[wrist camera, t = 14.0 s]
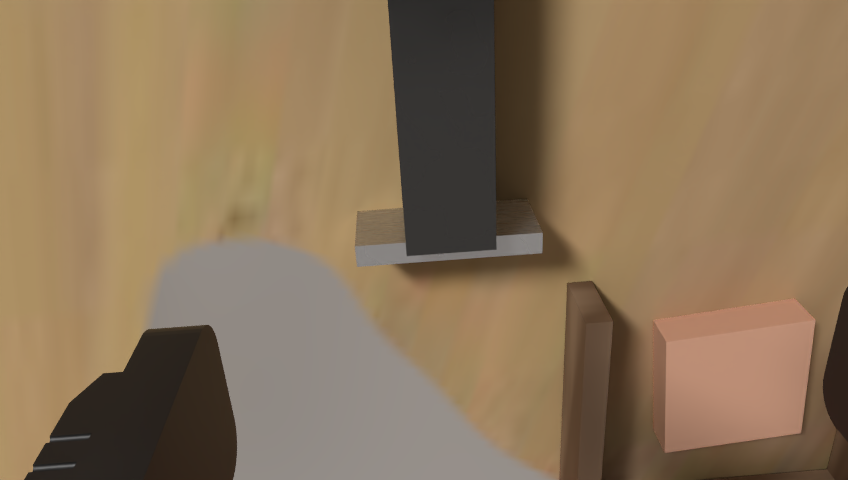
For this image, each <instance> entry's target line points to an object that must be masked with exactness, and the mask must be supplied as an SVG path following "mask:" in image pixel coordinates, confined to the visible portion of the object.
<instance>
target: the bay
mask: <svg viewBox="0 0 848 480" xmlns="http://www.w3.org/2000/svg"><path fill="white" fill-rule="evenodd" d="M612 331H613V320H612V318H611V317H610V315H609V313H608V311H607V309H606V307H605V305H604V303H603V301H602V299H601V298H600V296H599V294H598V292H597V290H596V288H595V286H594V284H593V282H592V281H587V282H574V283H567V305H566V330H565V355H564V380H563V405H562V430H561V455H560V479H559V480H601V478H602V464H603V451H604V438H605V424H606V411H607V398H608V384H609V371H610V358H611V344H612ZM704 480H848V442H847V441H846V439H845V438H844V437H843V436H842V434H841V433H840V432H839V431H838V430H837V432H836V436H835V440H834V444H833V448H832V452H831V455H830V459H829V463H828V467H827V469H823V470H811V471H799V472H787V473H776V474H764V475H752V476H740V477H728V478H716V479H704Z"/></svg>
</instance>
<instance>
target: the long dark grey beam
mask: <svg viewBox="0 0 848 480" xmlns="http://www.w3.org/2000/svg"><path fill="white" fill-rule="evenodd" d="M388 9H389V23H390V37H391V50H392V64H393V77H394V91H395V105H396V118H397V132H398V145H399V159H400V173H401V186H402V200H403V208H396V209H382V210H369V211H357V223H356V238H355V252H356V261H357V267H360V266H374V265H388V264H401V263H415V262H428V261H442V260H456V259H469V258H483V257H497V256H510V255H524V254H537V253H542V246H543V232H542V230H541V228H540V225H539V223H538V221H537V219H536V217H535V214H534V212H533V210H532V208H531V206H530V203H529V201H528V199H519V200H505V201H496V149H495V55H494V0H388Z"/></svg>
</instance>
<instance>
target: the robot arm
mask: <svg viewBox="0 0 848 480" xmlns="http://www.w3.org/2000/svg"><path fill="white" fill-rule="evenodd" d="M823 395H824V401H825V405H826V408H827V411H828V414H829V416H830V419H831V420H832V422H833V424H834V425H835V427H836V428H837V430H838V431H839V432H840V433H841V434H842V436H843V437H844V438H845V439H846V441H847V442H848V287H847V288H846V290H845V292H844V295H843V299H842V303H841V307H840V311H839V315H838V320H837V324H836V328H835V332H834V336H833V340H832V344H831V349H830V353H829V357H828V361H827V365H826V369H825V373H824V379H823ZM236 456H237V436H236V426H235V420H234V415H233V410H232V406H231V401H230V397H229V393H228V388H227V383H226V379H225V374H224V370H223V365H222V361H221V356H220V351H219V347H218V342H217V339H216V336H215V333H214V331H213V329H212V327H211V326H209V325H201V326H187V327H173V328H161V329H148V330H146V331H145V332H144V333H143V335H142V336H141V338H140V340H139V342H138V344H137V346H136V348H135V350H134V352H133V354H132V356H131V358H130V360H129V362H128V364H127V366H126V367H125V369H124V371H123V372H116V373H103V374H102V375H101V376H100V377H99V378H98V379H96V380H95V381H94V382H93V383H92V384H91V385H89V386H88V387H87V388H86V389H85V390H84V391H83V392H81V393H80V394H79V395H78V396H77V397H76V398H74V399H73V400H72V401H71V402H70V403H69V404H68V406H67V408H66V410H65V411H64V413H63V415H62V416H61V418H60V420H59V421H58V423H57V425H56V427H55V428H54V430H53V432H52V433H51V435H50V443H46V444H45V445H44V447H43V449H42V450H41V452H40V454H39V455H38V457H37V459H36V461H35V462H34V464H33V472H29V473H28V474H27V476H26V478H25V479H24V480H233V477H234V472H235V466H236Z"/></svg>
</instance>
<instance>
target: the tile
mask: <svg viewBox="0 0 848 480" xmlns="http://www.w3.org/2000/svg"><path fill="white" fill-rule="evenodd" d="M814 328H815V319H814V318H813V317H812V316H811V315H810V314H809V313H808V312H807V311H806V309H805V308H804V307H803V306H802V305H801V304H800V303H799V302H798V301H797V300H796V299H788V300H782V301H775V302H768V303H762V304H755V305H749V306H742V307H736V308H729V309H723V310H716V311H709V312H703V313H696V314H690V315H683V316H677V317H670V318H663V319H657V320H653V430H654V432H655V434H656V436H657V438H658V440H659V442H660V444H661V446H662V448H663V450H664V453H669V452H675V451H682V450H689V449H696V448H703V447H710V446H716V445H723V444H730V443H737V442H744V441H751V440H757V439H764V438H771V437H778V436H785V435H792V434H799V433H801V429H802V422H803V414H804V406H805V398H806V390H807V383H808V375H809V367H810V359H811V351H812V343H813V336H814Z"/></svg>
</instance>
